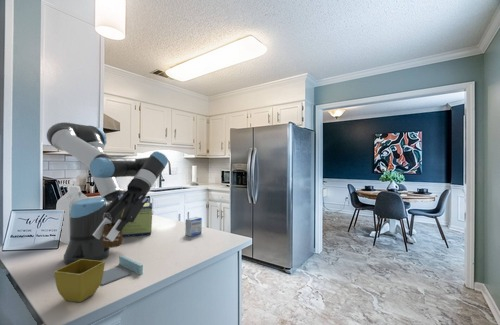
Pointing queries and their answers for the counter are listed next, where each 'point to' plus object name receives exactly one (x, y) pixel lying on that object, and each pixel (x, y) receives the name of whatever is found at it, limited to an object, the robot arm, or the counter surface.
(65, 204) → the milk
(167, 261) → the counter surface
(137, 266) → the acrylic wall
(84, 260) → the flower pot
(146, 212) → the protein box
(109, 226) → the utensil holder
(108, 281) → the slate pad
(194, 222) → the medicine box
